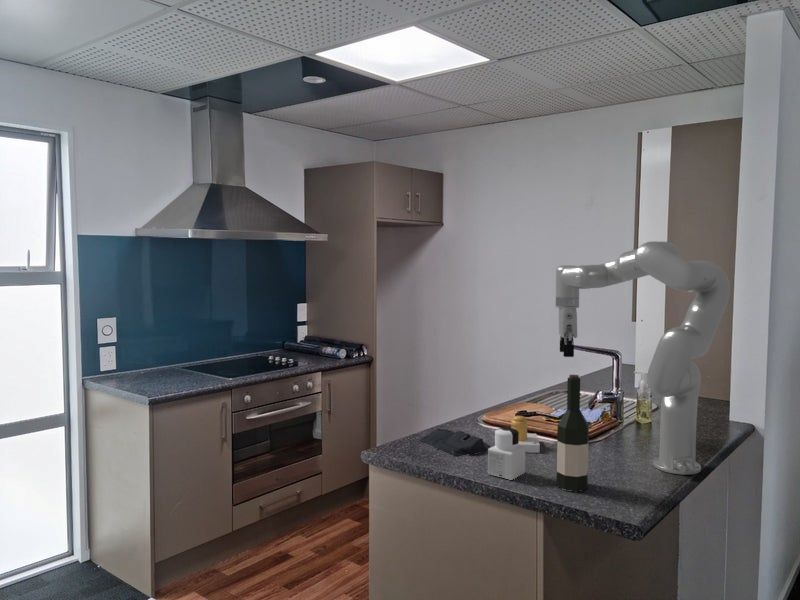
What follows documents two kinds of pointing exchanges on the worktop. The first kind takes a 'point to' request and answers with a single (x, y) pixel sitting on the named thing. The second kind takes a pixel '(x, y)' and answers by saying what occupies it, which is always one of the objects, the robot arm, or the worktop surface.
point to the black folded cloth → (455, 442)
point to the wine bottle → (572, 442)
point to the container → (506, 455)
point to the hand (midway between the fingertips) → (566, 354)
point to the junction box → (531, 444)
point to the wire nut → (520, 426)
